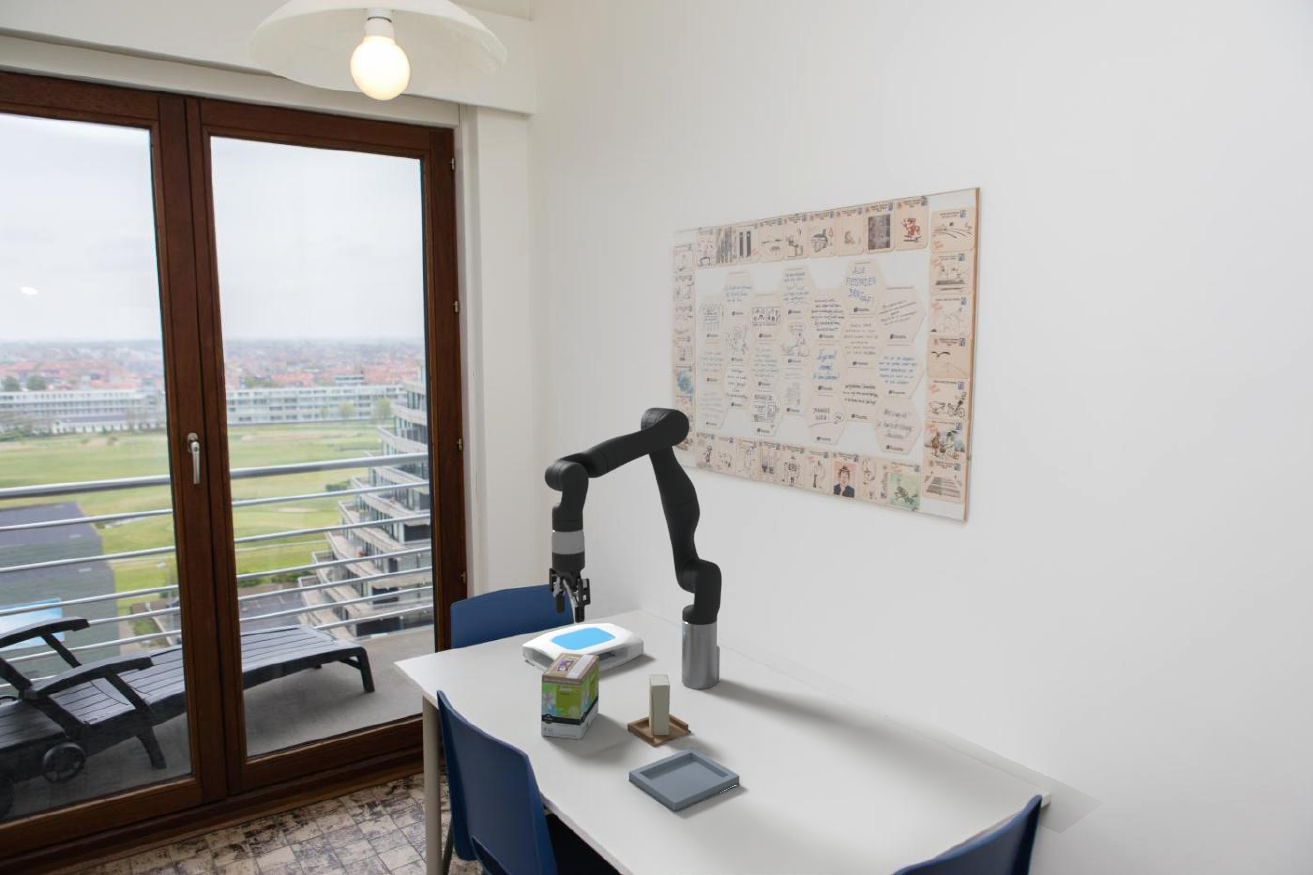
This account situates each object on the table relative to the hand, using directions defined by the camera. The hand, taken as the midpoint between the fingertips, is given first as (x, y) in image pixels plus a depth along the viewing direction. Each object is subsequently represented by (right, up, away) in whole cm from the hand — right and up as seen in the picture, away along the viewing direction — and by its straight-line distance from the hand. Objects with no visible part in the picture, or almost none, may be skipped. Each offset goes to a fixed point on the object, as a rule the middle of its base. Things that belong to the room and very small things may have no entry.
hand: (569, 617), depth 194 cm
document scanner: (-1, -22, +47) cm, 52 cm away
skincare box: (+21, -27, +2) cm, 34 cm away
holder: (+20, -27, +2) cm, 34 cm away
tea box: (0, -27, +6) cm, 28 cm away
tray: (+25, -30, -21) cm, 44 cm away
